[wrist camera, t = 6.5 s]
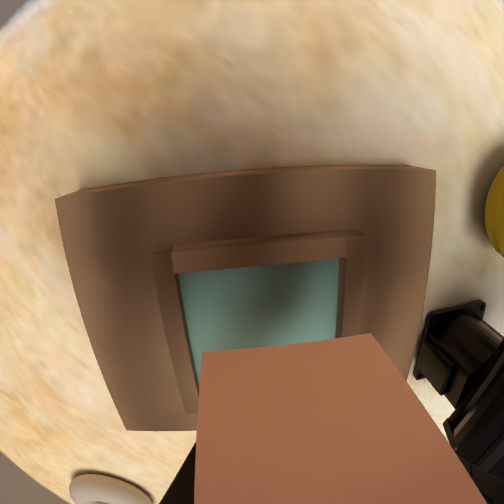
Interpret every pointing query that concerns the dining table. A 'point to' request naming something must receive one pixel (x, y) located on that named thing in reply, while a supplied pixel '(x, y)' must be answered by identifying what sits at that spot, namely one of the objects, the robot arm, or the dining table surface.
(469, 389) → the robot arm
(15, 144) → the dining table surface
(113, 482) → the donut
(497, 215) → the lemon
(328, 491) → the terracotta block
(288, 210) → the brown flat frame
